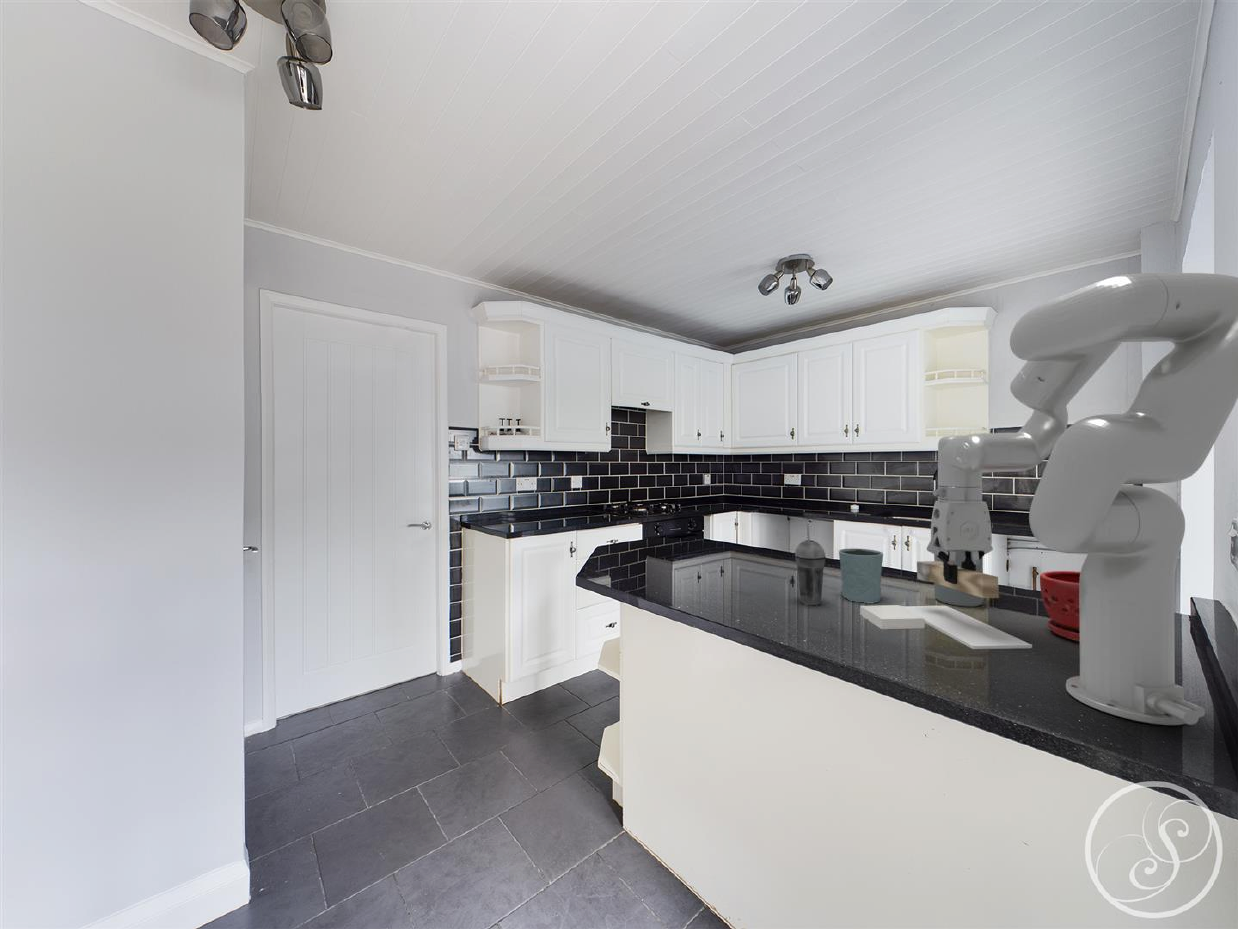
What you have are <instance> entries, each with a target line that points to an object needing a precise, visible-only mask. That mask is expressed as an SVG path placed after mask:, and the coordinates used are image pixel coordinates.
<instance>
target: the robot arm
mask: <svg viewBox="0 0 1238 929" xmlns="http://www.w3.org/2000/svg"><path fill="white" fill-rule="evenodd" d="M1127 342H1128V343H1145V342H1147V343H1151V342H1152V343H1157V342H1170V343H1172V344H1173V345H1174V348H1172V349H1171V351H1170V352H1168V353H1167V354H1166V355H1165V356H1164V357H1163V358H1161V359H1160V360H1159V361H1158V362H1157V363H1156V364H1155V365H1154V366H1153V367H1152V368H1151V369H1150V370H1149V372H1147V375H1146V376H1145V377H1144V379H1143V380H1142V382H1141V385H1140V386H1139V390H1138V392H1137V394H1136V396H1135V399H1134V400H1133V402H1132V403H1131V406H1130V407H1129V408H1128V410H1127V411H1125V412H1124V413H1113V414H1112V413H1110V414H1109V413H1107V414H1106V413H1105V414H1104V413H1103V414H1097V415H1091V416H1088V417H1085V418H1081V419H1080V420H1078V421H1075V422H1074V423H1072V424H1071V425H1070V426H1069V427H1068V421H1069V412H1068V409H1067V408H1068V407H1067V406H1068V405H1069V403H1070V402H1071V401H1072V399H1073V398H1074V397H1075V396H1076V395H1077V394H1078V393H1079V391H1080V390H1081V389H1082V388H1083V387H1084V385H1085V384H1087V383H1088V382H1089V380H1090V379H1091V378H1092V377H1093V376H1094V375H1095V374H1096V372H1098V371H1099V369H1100V368H1101V367H1102V366H1103V365H1104V364H1105V362H1106V361H1107V360H1109V358H1110V357H1111V356H1112V355H1113V353H1114V352H1116V350H1117V349H1118V348H1119V346H1121V345H1122V343H1127ZM1009 347H1010V350H1011V352H1012V353H1013V355H1014V356H1016V358H1018V359H1021V361H1022V360H1023V361H1026V362H1025V364H1024V365H1023V366H1022V368H1020V370H1019V371H1018V373H1017V374H1016V375H1015V377H1014V378H1013V380H1012V381H1011V383H1010V392H1011V394H1012V395H1013V397H1014V398H1015V399H1016V400H1017V401H1019V403H1021V404H1022V405H1024V406H1026V407H1028V408H1030V409H1032V410H1033V412H1032V414H1031V416H1030V417H1029V419H1028V420H1027V421H1026V423H1025V424H1023V426H1022V427H1020V429H1019V430H1018V431H1017V432H989V433H988V432H986V433H983V432H982V433H972V434H966V435H949V436H943V437H941V438H940V439H939V440H938V443H937V444H938V445H937V489H933V491H932V495H933V497H937V500H935V502H934V505H933V510H932V516H931V522H930V523H931V524H930V541H929V543H928V544H927V546H926V551H927V552H930V553H931V554H933V555H934V554H935V555H936V556H937V557H938V558H939V559H940V560H941V562H943V576H944V580H945V581H947V582H949V583H952V584H957V571H958V567H957V565H955V564H954V563H955V555H956V551H963V552H964V560H965V561H962V563H961V568H964V569H968V570H972V571H976V565H977V564H979V560H980V559H981V558H982V557H984V556H985V555H987V554H989V553H990V552H992V551H993V549H994V548H993V544H992V543H993V539H992V538H993V537H992V536H993V535H992V534H993V533H992V525H991V524H992V523H991V516H990V511H989V508H988V507H989V506H988V504H987V501H983V473H1003V472H1007V473H1008V472H1011V473H1013V472H1025V471H1028V470H1031V469H1034V468H1035V467H1037V466H1038V465H1039V464H1041V463H1042V462H1044V460H1046V458H1047V457H1048V456H1049V457H1048V460H1047V463H1046V465H1045V467H1044V470H1043V472H1042V475H1041V478H1040V480H1039V482H1038V485H1037V488H1036V489H1035V493H1034V495H1033V497H1032V501H1031V504H1030V507H1029V514H1028V515H1029V516H1028V520H1029V521H1028V522H1029V527H1030V529H1031V532H1032V535H1033V536H1034V537H1035V539H1036V540H1037V541H1038V542H1039V543H1040V544H1041V545H1042V546H1044V547H1046V548H1048V549H1050V550H1052V551H1055V552H1060V553H1063V554H1064V553H1065V554H1087V555H1086V556H1085V559H1084V561H1083V564H1082V566H1081V569H1080V572H1081V573H1080V582H1079V605H1080V642H1079V675H1075V676H1072V677H1068V679H1066V682H1065V688H1066V691H1067V692H1068V694H1069V695H1071V697H1073V698H1074V699H1076V700H1078V701H1079V702H1080V703H1083V704H1085V705H1087V706H1089V707H1091V708H1094V709H1096V710H1099V711H1100V712H1104V713H1107V714H1110V715H1114V716H1116V717H1120V718H1123V719H1128V720H1132V721H1136V722H1141V723H1145V724H1146V723H1147V724H1152V725H1161V726H1180V725H1181V726H1182V725H1186V724H1187V725H1190V726H1193V725H1196V724H1197V723H1198V721H1199V718H1203V717H1204V716H1205V715H1206V710H1205V708H1204V707H1202V706H1200V705H1199V704H1198V705H1197V704H1195V703H1194V702H1191V701H1188V700H1185V698H1184V697H1185V696H1184V694H1185V693H1184V692H1185V689H1184V686H1181V685H1178V684H1176V681H1175V679H1176V678H1175V677H1176V676H1175V675H1176V674H1175V668H1176V667H1175V658H1176V656H1175V654H1176V653H1175V646H1176V645H1175V638H1176V637H1175V636H1176V635H1175V604H1176V603H1175V601H1176V600H1175V599H1176V598H1175V596H1176V595H1175V594H1176V593H1175V592H1176V574H1177V573H1176V570H1177V563H1178V558H1179V554H1180V550H1181V547H1182V543H1183V540H1184V537H1185V532H1186V519H1185V518H1186V517H1185V515H1184V512H1183V510H1182V508H1181V506H1180V504H1178V502H1177V501H1176V500H1175V499H1174V498H1172V497H1171V496H1169V495H1168V494H1167V493H1164V492H1163V491H1161V490H1158V489H1155V488H1152V487H1148V486H1144V485H1148V484H1149V485H1151V484H1152V485H1154V484H1166V483H1167V484H1169V483H1176V482H1180V481H1183V480H1186V479H1188V478H1190V477H1192V476H1193V475H1194V474H1196V473H1197V472H1198V471H1199V470H1200V468H1202V466H1203V465H1204V463H1205V461H1206V459H1207V457H1208V456H1209V454H1210V453H1211V450H1212V448H1213V446H1214V444H1215V443H1216V442H1217V439H1218V438H1219V435H1220V434H1221V431H1222V430H1223V428H1224V426H1225V424H1226V422H1227V420H1228V418H1229V417H1230V416H1231V413H1232V411H1233V409H1234V408H1235V405H1236V403H1237V401H1238V277H1237V276H1233V275H1228V274H1218V273H1206V272H1205V273H1204V272H1172V273H1169V272H1167V273H1158V272H1157V273H1147V272H1146V273H1145V272H1143V273H1142V272H1141V273H1139V272H1138V273H1129V274H1128V273H1127V274H1126V273H1125V274H1121V275H1120V274H1119V275H1115V276H1112V277H1108V278H1103V279H1101V280H1099V281H1095V282H1094V283H1091V284H1089V285H1086V286H1083V287H1081V288H1079V289H1075V290H1073V291H1071V292H1070V291H1069V292H1068V293H1066V294H1063V295H1060V296H1058V297H1055V298H1053V299H1050V300H1048V301H1046V302H1043V303H1040V304H1038V305H1036V306H1035V307H1033V308H1032V309H1030V310H1028V311H1027V312H1026V313H1024V314H1023V315H1022V316H1021V317H1020V318H1019V319H1018V320H1017V322H1016V323H1015V324H1014V326H1013V328H1012V331H1011V334H1010V337H1009ZM1141 485H1143V486H1141ZM938 547H941V550H939V549H938Z"/></svg>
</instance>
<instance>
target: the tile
mask: <svg viewBox="0 0 1238 929" xmlns="http://www.w3.org/2000/svg"><path fill="white" fill-rule="evenodd" d="M859 614H860V615H862V616H863V617H862V616H861V617H862V618H864V619H865V620H867V619H868V620H869V621H868V620H867V621H868V622H870V623H872V624H873V625H875V626H876V627H878V628H879V629H881V630H909V629H911V630H912V629H913V630H915V629H918V630H919V629H925V628H926V627H925V626H926V623H925V618H923V617H921V616H919V615H917V614H915V613H913V612H912V611H910V610H908V609H906V608H904V607H902V605H900V604H893V605H890V604H889V605H887V604H886V605H883V604H882V605H860V607H859Z"/></svg>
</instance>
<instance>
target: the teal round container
mask: <svg viewBox="0 0 1238 929" xmlns="http://www.w3.org/2000/svg"><path fill="white" fill-rule="evenodd" d="M838 555H839V564H840V575H841V589H842V592H841V593H842V597H843V596H844V597H845V598H847V599H849V600H852V601H859V602H876V601H879V602H881V594H882V588H881V582H882V572H883V559H884V553H883V552H882V551H880V550H874V549H868V548H867V549H866V548H853V547H852V548H842V549H839V550H838Z"/></svg>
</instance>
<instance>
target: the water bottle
mask: <svg viewBox="0 0 1238 929" xmlns="http://www.w3.org/2000/svg"><path fill="white" fill-rule="evenodd" d="M938 549H939V550H941V547H938ZM983 557H984V556H983ZM983 557H982V558H981V559H980V560H979V564H977V565H976V572H980V573H984V569H983V568H984V567H983V566H984V562H983V561H984V558H983ZM933 558H934V559H933V561H940V562H941V560H940V559H939V558H938V557H937V556H936V555H935V554H933ZM962 561H965V560H964V552H963V551H956V555H955V563H954V564H955V565H957V567H960V568H961V563H962ZM934 598H935V599H936V600H937V601H939V602H942V603H944V604H946V603H947V604H946V605H950V606H956V607H957V606H958V607H963V608H964V607H965V608H969V607H970V608H971V607H972V608H973V607H978V606H981V605H982V604H983V603H984V598H981V597H978V596H975V595H972V594H968V593H965V592H962V591H959V590H956V589H953V588H949V587H946V586H943V585H940V584H937V583H934Z"/></svg>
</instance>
